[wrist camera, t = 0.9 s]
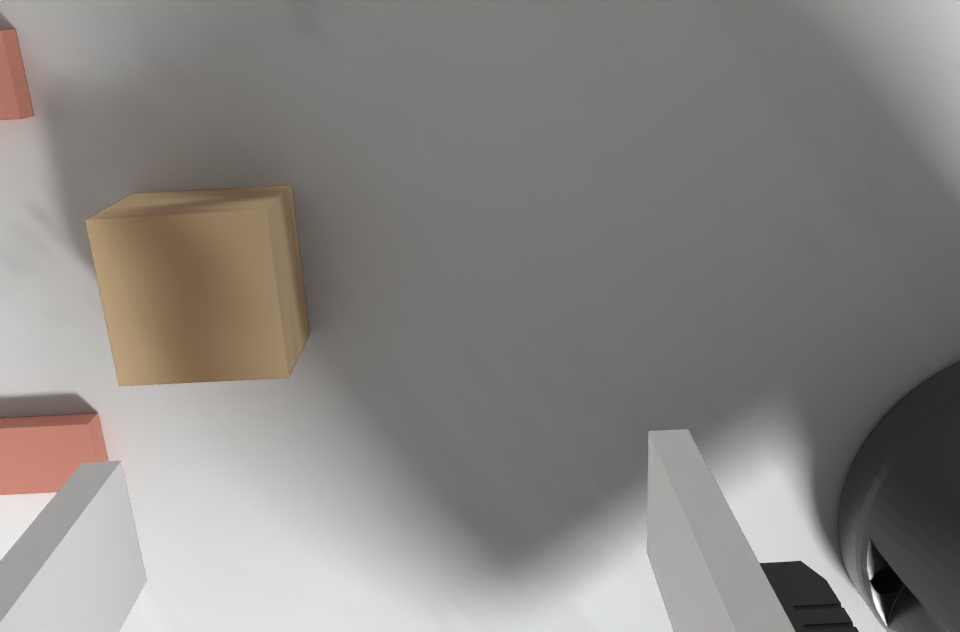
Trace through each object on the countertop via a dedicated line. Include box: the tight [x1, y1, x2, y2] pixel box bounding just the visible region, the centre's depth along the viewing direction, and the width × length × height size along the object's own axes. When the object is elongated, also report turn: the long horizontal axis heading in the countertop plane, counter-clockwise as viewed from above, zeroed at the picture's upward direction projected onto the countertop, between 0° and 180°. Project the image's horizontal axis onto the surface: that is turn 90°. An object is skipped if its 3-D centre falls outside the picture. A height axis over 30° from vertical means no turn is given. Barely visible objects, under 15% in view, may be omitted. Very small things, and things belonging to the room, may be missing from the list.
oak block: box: [85, 185, 310, 386], centre depth 32 cm, size 6×6×4 cm
